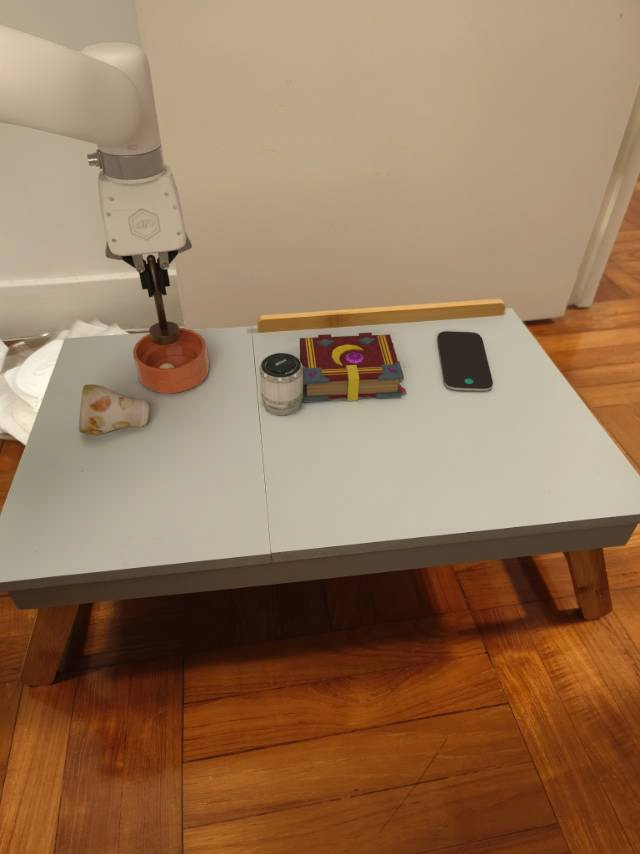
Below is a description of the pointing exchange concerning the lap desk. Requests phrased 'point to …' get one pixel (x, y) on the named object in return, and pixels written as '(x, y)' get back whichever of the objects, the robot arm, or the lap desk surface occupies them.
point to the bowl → (172, 362)
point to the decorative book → (350, 367)
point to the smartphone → (464, 361)
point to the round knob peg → (160, 311)
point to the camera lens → (281, 383)
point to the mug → (109, 411)
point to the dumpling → (167, 366)
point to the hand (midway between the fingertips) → (157, 290)
